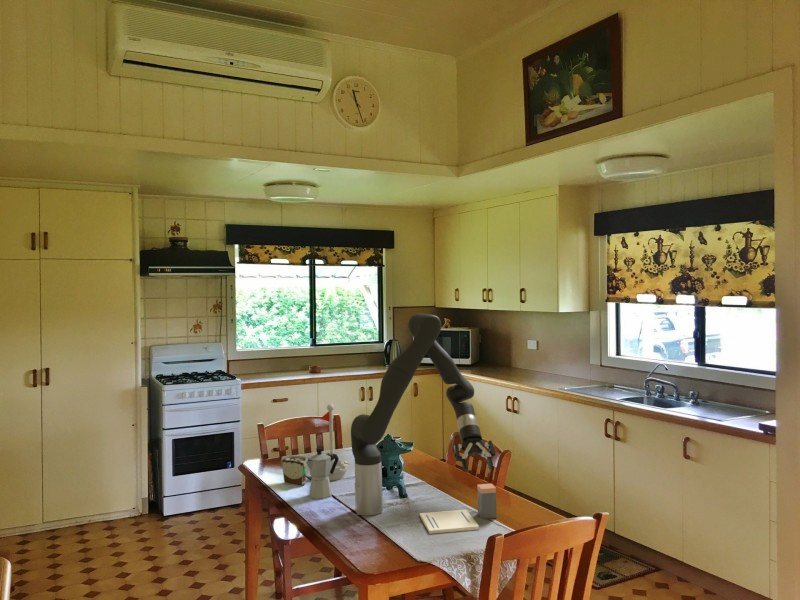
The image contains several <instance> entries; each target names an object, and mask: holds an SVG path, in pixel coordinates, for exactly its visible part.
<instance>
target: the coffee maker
mask: <svg viewBox="0 0 800 600" xmlns="http://www.w3.org/2000/svg"><path fill="white" fill-rule="evenodd" d="M315 449H316V454H312V455H311V456H308V457H307V461H306V462H305V463H307V467H308V469H309V474H310V476H311V479H310V486H309V495H308V498H310V499H312V500H325V499H328V498H331V497H332V495H333V492H332V486H331V483H330V482H331V480H329V477H328V475H329V473H331V474H333V472H334V470H335V467H336V465H337V463H338V460H339V459H340V458H339V456H338V455H337V454H336V453H334V454H330V452H327V453H322V452H323V448H322V447H316V448H315ZM332 460H334V463H333V465H332V468H331V470H330V462H331V461H332Z"/></svg>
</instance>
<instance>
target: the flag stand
mask: <svg viewBox="0 0 800 600" xmlns="http://www.w3.org/2000/svg"><path fill="white" fill-rule="evenodd" d="M326 409H327V410H328V411H327V412H326V413H325V414H324V415H323V416H321V417H320V419H322V420H323V421H326V422H328V425H329V426H328V428H329V430H328V431H329V432H328V433H329V454H335V452H334V451H335V450H334V448H335V447H334V419H333V417H334V416H333V414H334V413H333V411H334V409H335V405H334V404H332V403H329V404H327V405H326ZM334 460H335V459H334ZM334 460H332V461H331V462H330V470H331V468H332V465H333V463H334ZM348 470H349V462H348V461H347V460H345V461H343V459H340V458H339V460H338V463H337V465H336V467H335V470H334V472H333V474H331V473H329V475H328V477H329V481H338V480H339V481H340V480H342V479H344V478H346V477H347V471H348Z"/></svg>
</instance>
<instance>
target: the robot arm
mask: <svg viewBox="0 0 800 600" xmlns="http://www.w3.org/2000/svg"><path fill="white" fill-rule="evenodd" d="M407 326H408V331H409V333H410V334H411V336H412V337H413V340H412V342H411V343H410V344H409V345H408V346H407V348H406V349H404V351H402V352H401V353H400V354H399V355H397V357H395V358H394V359H393V360H392V361H391V363H390V364H389V366H388V367H387V369H386V371H385V373H384V375H383V377H382V378H381V383H380V388H379V389H380V390H379V394H378V395H379V397H378V400H377V402H376V404H375V407H374V408H373V410H372V411H371V413H370V414H369V415H368V414H364V413H363V414H359V415H357V416H355V418H354V419H353V420H352V422H351V426H350V439H351V452H352V456H353V458H354V477H355V478H354V479H355V480H354V499H355V500H354V501H355V504H354V505H355V506H354V507H355V512H356V514H357V516H358V515H359V516H360V515H361V516H374V515H375V516H376V515H378V514H381V513H383V511H384V507H383V505H384V504H383V502H384V500H383V474H382V473H383V471H382V467H383V466H382V453H381V452H380V450H379V449H378V447H377V443H379V442H380V441H381V440H382V439H383V436H384V435H385V433H386V431H387V429H388V426H389V424H390V421H391V419H392V417H393V415H394V413H395V411H396V409H397V407H398V405H399V403H400V401H401V399H402V397H403V395H404V394H405V392H406V391H407V388H408V387H409V385H410V382H411V381H412V380H413V377H414V375H415V373H416V371H417V370H418V368H419V366H420V365H421V363H422V361H423V359H424V358H425V357H426V355H427V356H428V357H429V359H430V361H431V362H432V364H433V365H434V367H435V369H436V371H437V372H438V374H439V376H440V378H441V379H442V380H441V381H442V382H443V383H444V384H446V385H451V386H448V387H447V389H446V391H445V394H446V398H447V399H448V402H450V405H451V407H452V409H453V411H454V413H455V418H456V422H457V430H458V434H459V438H460V442H461V444H460V443H458V442H455V443H454V444H453V452H454V458H455V461H456V462H461V467H462V469H463V470H464V472H468V471H469V466H468V461H467V458H468V456H479V455H480V456H481V457H482V458H485V459H486V464H487V467H488V470H492V468H493V467H494V462H493V460H492V459H495V456H496V454H497V453H496V449H495V447H494V444H493V441H492V440H488V441H485V442H484V440H483V437H482V433H481V429H480V426H479V422H478V419H477V415H476V413H475V409H474V406H473V404H472V403H471V402H469V401H468V400H470V399H472V398H473V397H474V396H475V388H474V386H473V384H472V383H471V382H470V381H469V380H468V379H467V378H466V377H465V376H464V375H463V374H462V372H460V370H459V369H458V366H457V364H456V363H455V362H454V360H453V358H452V357H451V355H449V353H448V352H447V351H446V350H445V349H444V348H443V347H442V346H441V345H440V344H439V343H438V341H437V338H438V337H439V335H440V333H441V330H442V321H441V319H440V318H439V317H438V316H437V315H434V314H429V313H416V314H413V315H412V316H410V318H409V319H408V325H407ZM485 447H486V448H485ZM487 449H488V450H487ZM461 450H463V451H464V452H463V454H462V455H460V453H461V452H460V451H461Z"/></svg>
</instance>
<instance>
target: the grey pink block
mask: <svg viewBox="0 0 800 600" xmlns="http://www.w3.org/2000/svg"><path fill="white" fill-rule="evenodd" d="M476 489H477V490H476V491H477V492H476V493H477V515H478V516H479V517H480V518H481V520H486V519H487V520H488V519H497V518H498V515H497V512H498V511H497V487H496V486H494V484H493V483H491V482H490V483H480V484H477V486H476Z"/></svg>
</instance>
